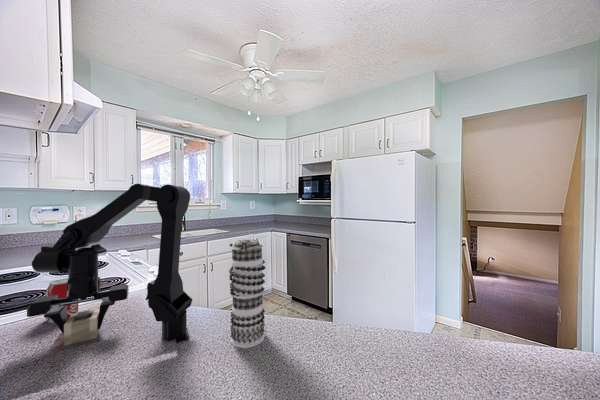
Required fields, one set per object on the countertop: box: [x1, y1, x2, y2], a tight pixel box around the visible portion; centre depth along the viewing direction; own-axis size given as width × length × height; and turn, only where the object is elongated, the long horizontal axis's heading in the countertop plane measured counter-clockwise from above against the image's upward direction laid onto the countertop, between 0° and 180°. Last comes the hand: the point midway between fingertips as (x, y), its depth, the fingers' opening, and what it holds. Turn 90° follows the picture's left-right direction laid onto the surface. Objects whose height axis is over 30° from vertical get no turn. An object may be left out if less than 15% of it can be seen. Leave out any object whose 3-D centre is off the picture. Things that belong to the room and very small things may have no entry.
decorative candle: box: [228, 239, 266, 349], centre depth 61 cm, size 9×9×25 cm
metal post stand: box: [45, 310, 114, 356], centre depth 62 cm, size 11×11×7 cm
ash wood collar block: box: [64, 309, 100, 345], centre depth 62 cm, size 6×6×5 cm
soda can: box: [45, 277, 79, 324], centre depth 73 cm, size 7×7×12 cm
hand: (83, 332), depth 62 cm, fingers closed on ash wood collar block, 6 cm apart
